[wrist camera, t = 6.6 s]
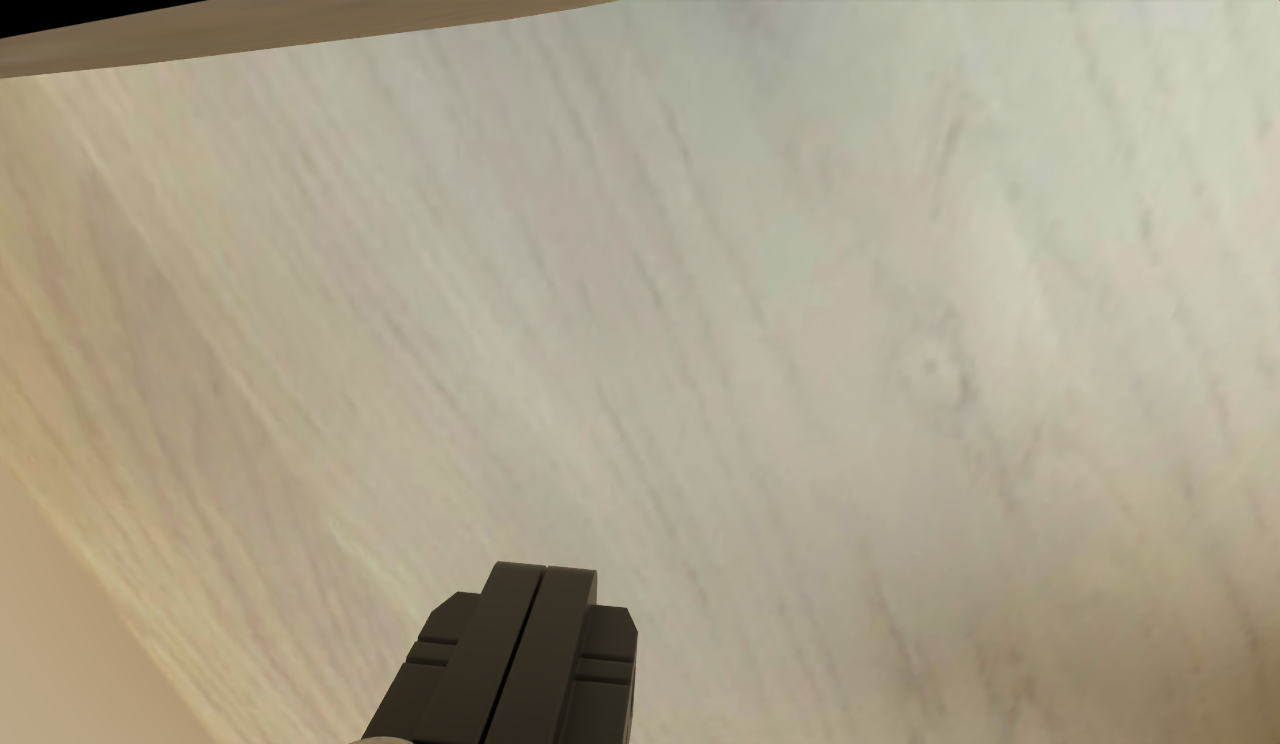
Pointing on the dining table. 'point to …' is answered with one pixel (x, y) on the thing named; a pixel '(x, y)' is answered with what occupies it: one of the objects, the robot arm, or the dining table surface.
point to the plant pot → (217, 27)
